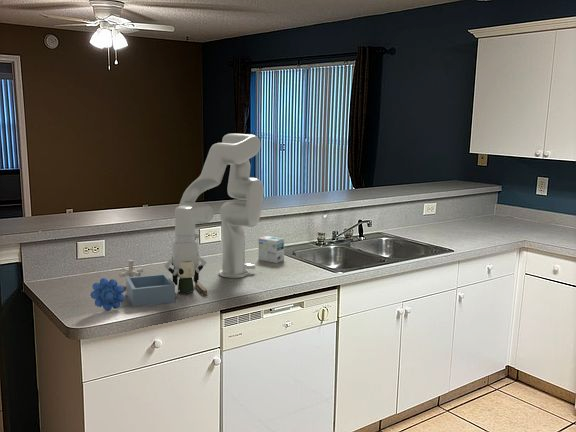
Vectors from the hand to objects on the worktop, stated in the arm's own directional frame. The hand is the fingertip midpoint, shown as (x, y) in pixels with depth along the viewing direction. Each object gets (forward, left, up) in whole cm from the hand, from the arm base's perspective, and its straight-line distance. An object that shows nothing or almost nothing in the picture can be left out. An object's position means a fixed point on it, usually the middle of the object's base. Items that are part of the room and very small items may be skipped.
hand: (185, 282), depth 222 cm
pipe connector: (+18, -17, -4) cm, 25 cm away
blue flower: (+30, +11, -4) cm, 32 cm away
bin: (+14, +2, -4) cm, 15 cm away
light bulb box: (-49, -33, -4) cm, 59 cm away
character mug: (0, 0, -4) cm, 4 cm away
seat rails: (0, 0, -4) cm, 4 cm away
